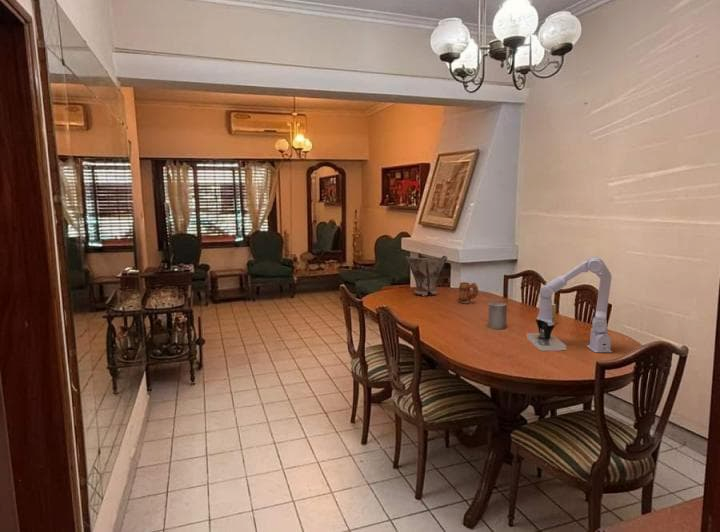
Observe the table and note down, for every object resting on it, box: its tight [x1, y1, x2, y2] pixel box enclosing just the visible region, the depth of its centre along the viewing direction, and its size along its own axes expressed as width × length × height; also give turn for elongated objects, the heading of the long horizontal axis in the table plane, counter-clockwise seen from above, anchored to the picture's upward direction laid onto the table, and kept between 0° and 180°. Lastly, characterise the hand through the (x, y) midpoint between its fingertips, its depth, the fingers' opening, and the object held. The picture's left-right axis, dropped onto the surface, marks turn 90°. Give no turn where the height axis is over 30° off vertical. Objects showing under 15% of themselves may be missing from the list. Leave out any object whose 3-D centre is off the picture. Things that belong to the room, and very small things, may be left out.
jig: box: [526, 332, 567, 352], centre depth 226 cm, size 20×12×2 cm, turn 178°
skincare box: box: [551, 302, 557, 325], centre depth 258 cm, size 6×4×12 cm
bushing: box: [540, 328, 549, 340], centre depth 227 cm, size 4×4×7 cm
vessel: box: [405, 255, 448, 297], centre depth 341 cm, size 30×27×30 cm
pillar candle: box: [488, 301, 508, 330], centre depth 255 cm, size 10×10×15 cm
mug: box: [458, 281, 479, 304], centre depth 312 cm, size 15×8×15 cm, turn 42°
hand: (544, 335), depth 227 cm, fingers open, 7 cm apart
